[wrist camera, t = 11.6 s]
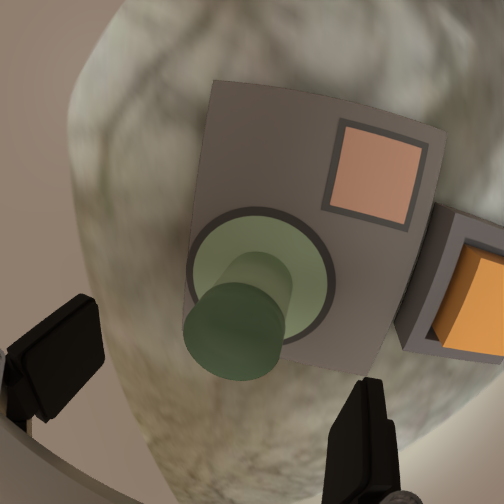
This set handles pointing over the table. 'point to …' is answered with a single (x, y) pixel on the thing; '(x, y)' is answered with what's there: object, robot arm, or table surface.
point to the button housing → (442, 279)
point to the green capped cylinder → (241, 318)
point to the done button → (473, 304)
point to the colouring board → (314, 211)
